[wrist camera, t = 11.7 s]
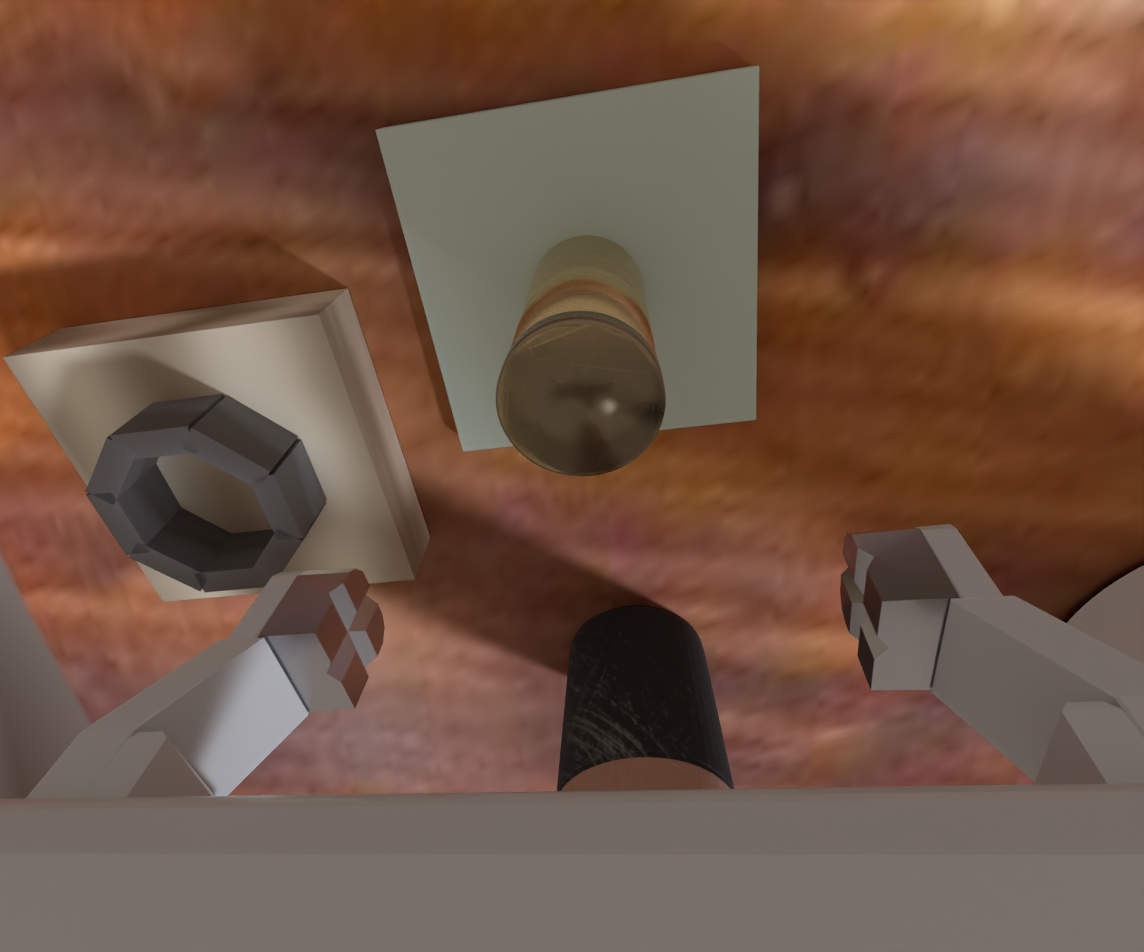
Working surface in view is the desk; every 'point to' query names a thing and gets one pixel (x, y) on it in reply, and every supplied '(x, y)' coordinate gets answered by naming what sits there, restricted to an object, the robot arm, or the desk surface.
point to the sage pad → (591, 230)
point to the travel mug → (640, 707)
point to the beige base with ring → (232, 442)
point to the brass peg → (582, 363)
